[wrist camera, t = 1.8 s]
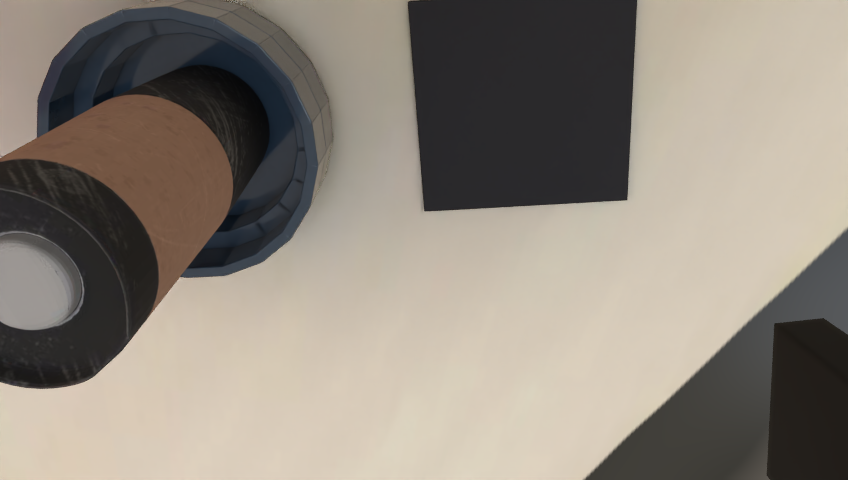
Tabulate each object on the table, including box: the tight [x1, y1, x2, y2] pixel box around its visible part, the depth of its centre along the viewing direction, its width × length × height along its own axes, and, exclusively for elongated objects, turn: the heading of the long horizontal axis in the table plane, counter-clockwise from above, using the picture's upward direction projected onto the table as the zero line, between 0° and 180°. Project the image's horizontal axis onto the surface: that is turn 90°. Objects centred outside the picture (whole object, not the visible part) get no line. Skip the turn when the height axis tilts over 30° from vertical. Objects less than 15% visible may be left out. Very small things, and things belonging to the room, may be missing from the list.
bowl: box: [37, 0, 333, 278], centre depth 38 cm, size 14×14×6 cm
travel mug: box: [0, 65, 270, 389], centre depth 31 cm, size 8×8×20 cm
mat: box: [408, 0, 637, 211], centre depth 39 cm, size 12×12×1 cm
